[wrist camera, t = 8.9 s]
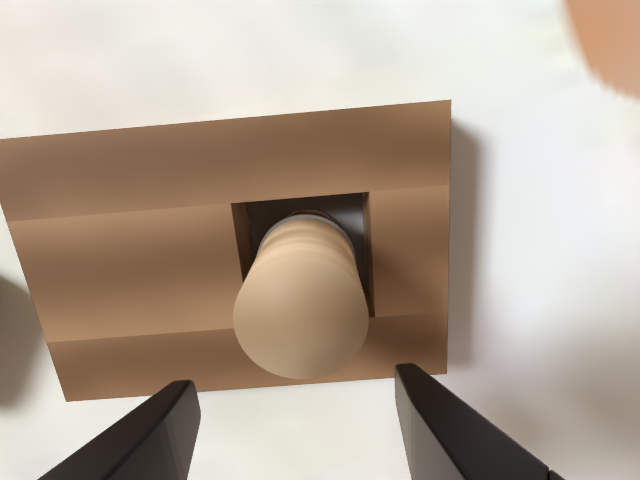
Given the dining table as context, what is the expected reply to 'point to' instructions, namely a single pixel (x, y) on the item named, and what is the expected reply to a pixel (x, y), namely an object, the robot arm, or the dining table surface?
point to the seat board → (221, 240)
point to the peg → (302, 299)
